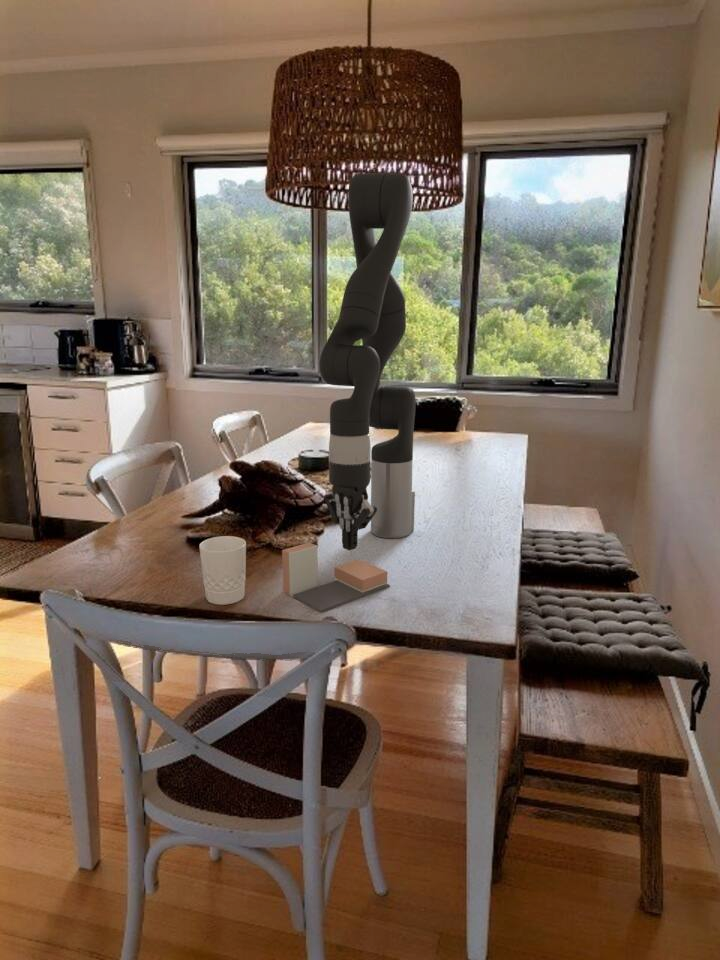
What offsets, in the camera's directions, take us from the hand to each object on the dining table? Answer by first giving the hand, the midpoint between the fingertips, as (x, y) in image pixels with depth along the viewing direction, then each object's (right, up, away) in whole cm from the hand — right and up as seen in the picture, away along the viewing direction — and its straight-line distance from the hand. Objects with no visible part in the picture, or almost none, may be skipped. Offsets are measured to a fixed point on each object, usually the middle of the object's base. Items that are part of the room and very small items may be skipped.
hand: (349, 548), depth 119 cm
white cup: (-22, -8, -7) cm, 24 cm away
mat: (-1, -7, -4) cm, 9 cm away
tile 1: (-9, -7, -3) cm, 12 cm away
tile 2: (-1, -4, +2) cm, 4 cm away
